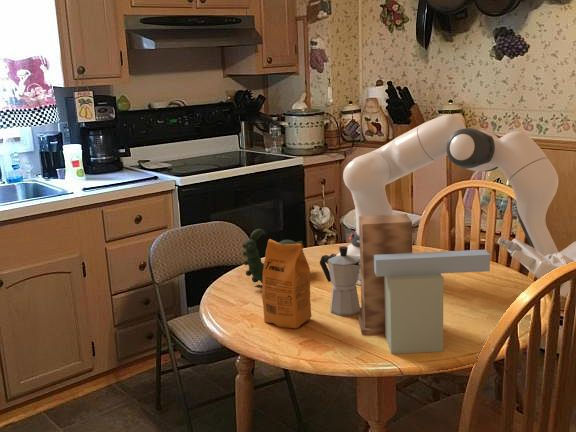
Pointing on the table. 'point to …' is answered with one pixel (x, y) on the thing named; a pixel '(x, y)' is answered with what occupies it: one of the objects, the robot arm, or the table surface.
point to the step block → (414, 313)
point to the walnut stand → (373, 241)
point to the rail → (431, 263)
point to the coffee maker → (342, 281)
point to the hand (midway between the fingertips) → (505, 246)
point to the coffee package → (286, 285)
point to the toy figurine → (254, 258)
